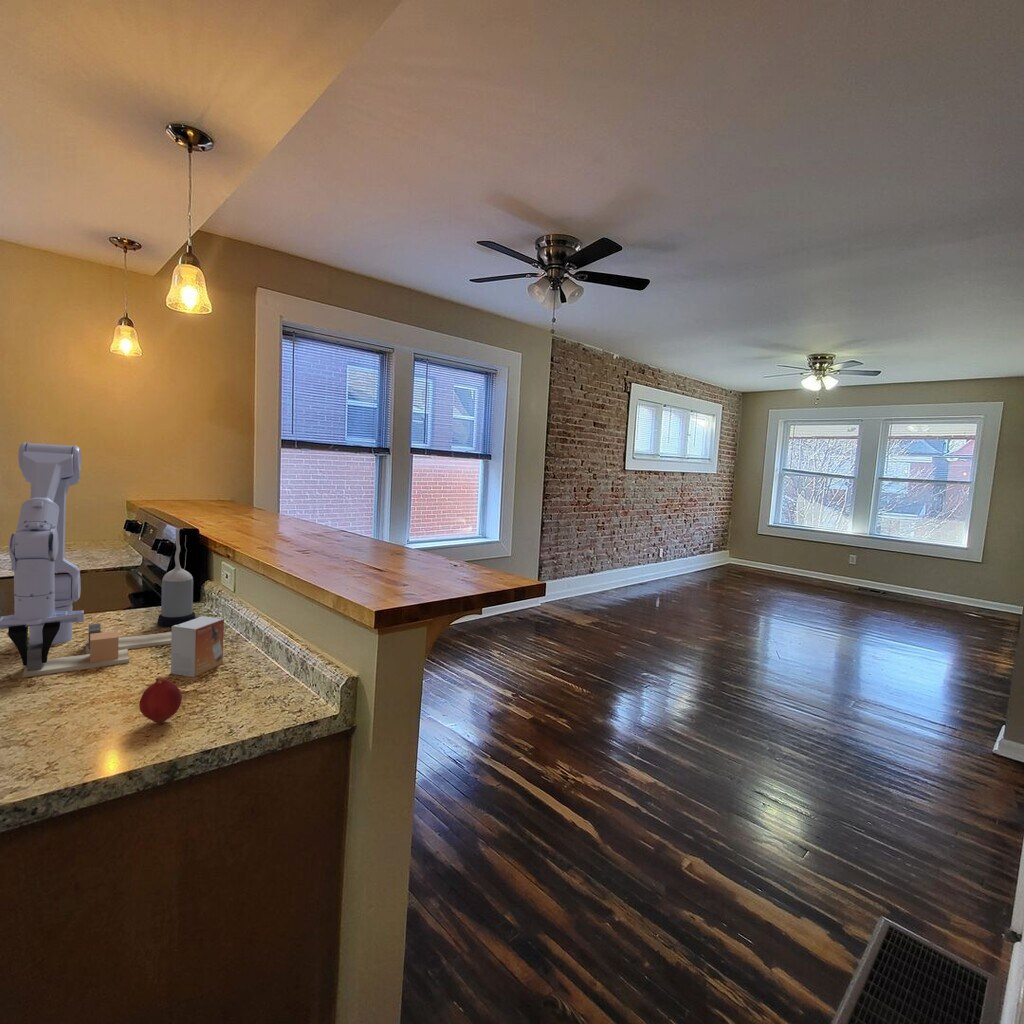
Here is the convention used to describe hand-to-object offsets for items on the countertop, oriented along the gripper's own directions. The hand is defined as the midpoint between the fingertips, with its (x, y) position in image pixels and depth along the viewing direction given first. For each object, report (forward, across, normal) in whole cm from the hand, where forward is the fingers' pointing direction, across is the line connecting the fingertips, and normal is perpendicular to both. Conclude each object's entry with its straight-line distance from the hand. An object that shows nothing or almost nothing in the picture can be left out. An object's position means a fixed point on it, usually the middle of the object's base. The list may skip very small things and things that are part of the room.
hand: (35, 662), depth 102 cm
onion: (+3, +18, -32) cm, 37 cm away
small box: (+3, +26, -12) cm, 28 cm away
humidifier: (+3, +26, +22) cm, 34 cm away
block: (+1, +10, 0) cm, 11 cm away
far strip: (+2, +16, +9) cm, 18 cm away
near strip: (+2, +6, 0) cm, 7 cm away
